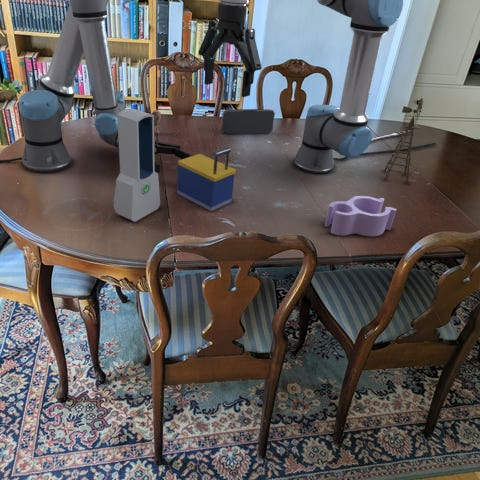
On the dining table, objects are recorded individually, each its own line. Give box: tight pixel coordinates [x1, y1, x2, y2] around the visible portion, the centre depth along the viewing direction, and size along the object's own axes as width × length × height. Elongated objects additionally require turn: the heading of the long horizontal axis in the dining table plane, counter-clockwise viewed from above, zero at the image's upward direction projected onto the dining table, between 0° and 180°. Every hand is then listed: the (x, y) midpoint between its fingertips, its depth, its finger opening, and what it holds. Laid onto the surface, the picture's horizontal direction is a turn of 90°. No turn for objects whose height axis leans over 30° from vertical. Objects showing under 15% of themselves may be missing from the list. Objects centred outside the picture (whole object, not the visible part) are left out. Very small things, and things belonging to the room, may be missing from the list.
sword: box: [370, 131, 410, 143], centre depth 215 cm, size 31×3×1 cm, turn 126°
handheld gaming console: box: [221, 108, 276, 135], centre depth 201 cm, size 23×3×10 cm, turn 108°
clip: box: [324, 195, 398, 237], centre depth 141 cm, size 20×12×7 cm, turn 109°
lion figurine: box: [150, 110, 162, 127], centre depth 189 cm, size 15×5×9 cm, turn 110°
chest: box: [176, 164, 235, 212], centre depth 147 cm, size 15×10×10 cm, turn 50°
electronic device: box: [112, 107, 161, 223], centre depth 130 cm, size 12×8×30 cm, turn 148°
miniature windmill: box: [383, 97, 424, 184], centre depth 169 cm, size 9×8×30 cm
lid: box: [177, 146, 237, 182], centre depth 142 cm, size 16×10×8 cm, turn 50°
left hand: (174, 163), depth 154 cm, fingers open, 13 cm apart
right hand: (226, 89), depth 127 cm, fingers open, 13 cm apart
